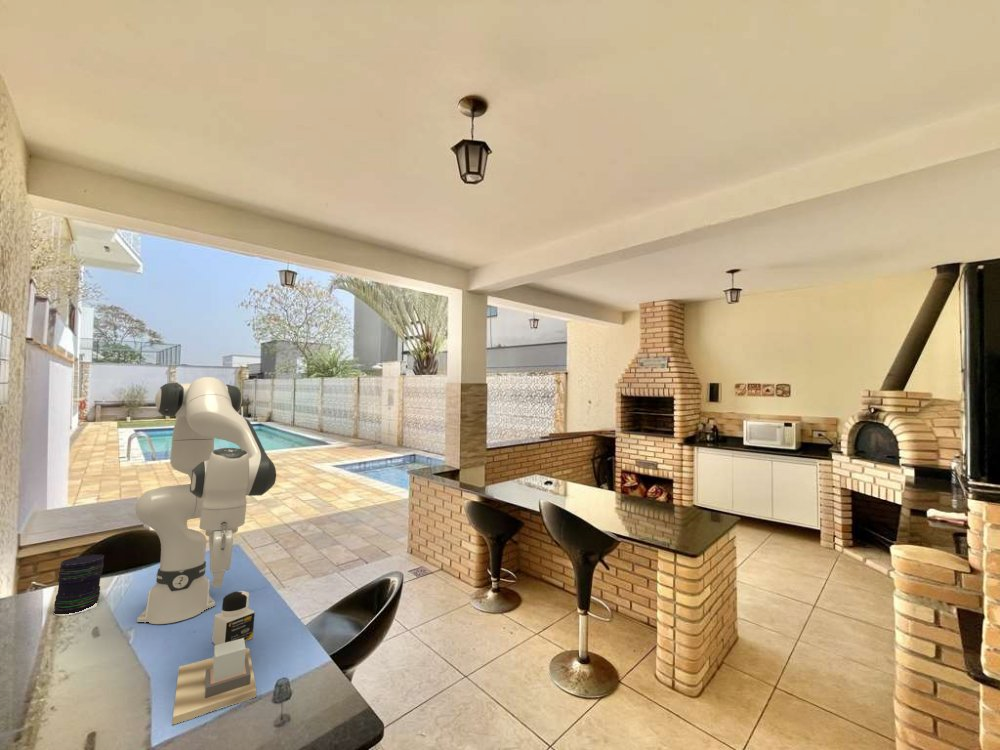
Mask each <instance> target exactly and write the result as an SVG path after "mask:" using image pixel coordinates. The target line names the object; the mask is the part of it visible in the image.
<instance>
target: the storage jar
mask: <svg viewBox="0 0 1000 750" xmlns="http://www.w3.org/2000/svg"><path fill="white" fill-rule="evenodd" d="M104 558H105V555H104V554H98V553H97V554H88V555H81V556H74V557H71V558H68V559H67V558H66V559H64V560H62V561H61V562H60V565H59V566H60V567H59V572H58V578H57V580H58V581H57V583H58V587H57V594H56V595H55V601H54V609H53V610H54V611H53V614H54V613H55V614H69V613H75V612H79V611H82V610H84V609H86V608H89V607H91V606H93V605H94V604H95V603H97V601H99V598H100V594H101V592H100V591H101V585H100V583H101V582H100V581H101V576H102V574H103V569H104Z"/></svg>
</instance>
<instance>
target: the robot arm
mask: <svg viewBox="0 0 1000 750" xmlns="http://www.w3.org/2000/svg"><path fill="white" fill-rule="evenodd" d="M242 397H243V396H242V392H241V390H240V389H239V387H238V386H236V385H232V384H231V385H230V384H225V383H224V382H223V381H222V380H220V379H218V378H217V377H213V376H212V377H211V376H203V377H199V378H197V379H195V380H193V382H180V383H178V382H176V381H175V382H170V383H169V382H168V383H165V384H163V385H162V386H160V387H159V390H158V391H157V392H156V394H155V399H154V403H155V406H156V409H157V411H158V412H159V414H160V415H162V416H165V417H170V418H174V417H176V420H175V423H174V425H173V426H174V427H173V430H172V431H173V432H172V435H171V436H172V438H171V448H170V465H171V467H172V469H173V470H175V471H178V472H180V473H182V474H185V475H187V476H188V477H189V479H190V483H189V484H178V485H167V486H162V487H158V488H153V489H151V490H147V491H145V492H144V493H143V494H142V495H141V496H140V497H139V498H138V500H137V501H136V503H135V508H134V509H135V510H134V511H135V516H136V518H137V519H138V520H139V521H140V522H141V523H143V524H144V525H146V526H148V527H150V528H151V529H152V530H153V531H154V532H155V533H156V534H157V536H158V538H159V541H160V549H161V550H160V563H159V568H158V569H157V572H156V579H155V580H156V584H155V585H154V586H153V587H152V588H151V589H150V590H149V591H148V595H147V603H146V608H145V609H144V611H142V612H141V614H140V615H139V616H138V617H137V618H136V622H137V621H138V622H144V623H146V622H149V623H148V624H153V625H164V624H172V623H177V622H180V621H181V622H182V621H186V620H188V619H191V618H193V617H196V616H198V615H200V614H202V613H203V612H205V611H207V610H209V609H211V607H212V608H214V607H215V606H216V601H215V600H214V599H213V598H212V596H211V595H210V587H211V586H210V585H212V589H219V588H221V587H222V586H223V582H224V577H225V572H226V571H229V570H230V568H231V565H232V557H233V556H232V555H233V546H234V545H233V543H234V541H233V540H234V536H233V535H234V534H236V533H237V532H238V530H239V527H242V526H244V524H245V520H246V513H247V498H246V496H248V497H250V496H251V497H253V496H254V497H255V496H261V497H262V496H263V495H264V494H266V493H267V492H268V491H269V490H270V489H272V488H273V486H274V485H275V483H276V481H277V470H276V466H275V464H274V463H273V461H272V459H271V458H270V457H269V456H268V454H267V452H266V450H265V448H264V446H263V444H262V442H261V441H260V439H259V437H258V435H257V432H256V430H255V428H254V427H253V425H252V423H251V422H250V420H249V419H247V418H246V417H244V416H242V415H241V414H240V413H238V412H239V411H240V408H241V406H242V404H243V403H242V402H243V398H242ZM215 439H217V440H223V441H225V442H230V443H233V444H235V445H236V446H238V447H239V448H237V447H236V448H235V447H221V448H219V449H215ZM194 519H199V520H200V521H199V529H200V530H202V531H205V532H204V533H205V534H204V533H203V532H201V531H198V530H195V529H192V528H188V521H189V520H194ZM206 537H208V545H209V570H210V571H209V572H210V573H212V584H210V583H211V582H210V581H211V580H210V579H209V578H208V577H206V575H205V574H206V570H207V562H206V561H205V559H206V549H207V538H206ZM213 606H214V607H213ZM208 608H209V609H208ZM206 609H207V610H206ZM204 610H205V611H204ZM201 612H202V613H201ZM138 622H137V623H138Z"/></svg>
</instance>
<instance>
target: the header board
mask: <svg viewBox="0 0 1000 750" xmlns="http://www.w3.org/2000/svg"><path fill="white" fill-rule="evenodd" d="M213 658H214V656H212V657H209V658H206V659H203V660H199V661H195V662H192V663H188V664H184V665H180V666H178V672H177V673H178V674H177V681H176V691H175V696H174V697H175V698H174V704H173V705H174V706H173V714H172V722H171V723H172V724H171V726H174V725H173V724H175V725H178V724H181V723H184V722H187V721H189V720H192V719H196V718H199V717H202V716H203V715H202V714H205V713H208V712H211V713H213V712H212V711H214V710H217V709H219V708H221V707H225V706H229V707H231V706H230V705H232V706H235V705H238V704H240V703H244V702H246V701H250V700H253V699H256V698H257V691H258V690H257V685H256V678H255V674H254V667H253V663H252V656H251V652H250V648H249V647H247V648H246V652H245V664H244V673H242V674H239V675H236V676H232V677H229V678H226V679H222V680H219V681H216V682H213V673H212V669H213ZM255 697H256V698H255ZM252 698H253V699H252ZM249 699H250V700H249ZM237 703H238V704H237ZM234 704H235V705H234ZM217 711H218V710H217ZM214 712H215V711H214ZM208 714H209V713H208ZM201 715H202V716H201ZM205 715H206V714H205ZM198 716H199V717H198ZM195 717H196V718H195ZM183 721H184V722H183ZM180 722H181V723H180ZM177 723H178V724H177Z"/></svg>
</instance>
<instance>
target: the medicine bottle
mask: <svg viewBox="0 0 1000 750" xmlns="http://www.w3.org/2000/svg"><path fill="white" fill-rule="evenodd" d="M249 600H250V593H249V592H248V591H244V590H238V591H233V592H230V593H228V594H227V595H225V596H224V597H223V598H222V607H221V612H219V613H216V614H215V615H214V618H213V619H214V620H213V626H212V627H213V629H212V638H211V642H212V643H213V644H214V645H218V644H222V643H226V642H230V641H234V640H238V639H242V638H244V641H245V642H247V641H250V640H253V638H254V628H255V627H254V625H255V616H256V615H255V613H256V612H255V611H254V610H253V609H251V608H249V603H250V601H249Z"/></svg>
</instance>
